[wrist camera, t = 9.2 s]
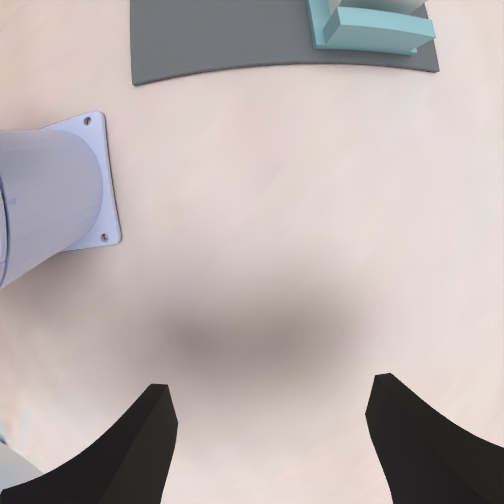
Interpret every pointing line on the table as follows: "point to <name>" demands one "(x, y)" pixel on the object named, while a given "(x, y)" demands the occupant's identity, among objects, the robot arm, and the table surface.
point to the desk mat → (240, 38)
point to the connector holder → (366, 29)
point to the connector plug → (378, 5)
